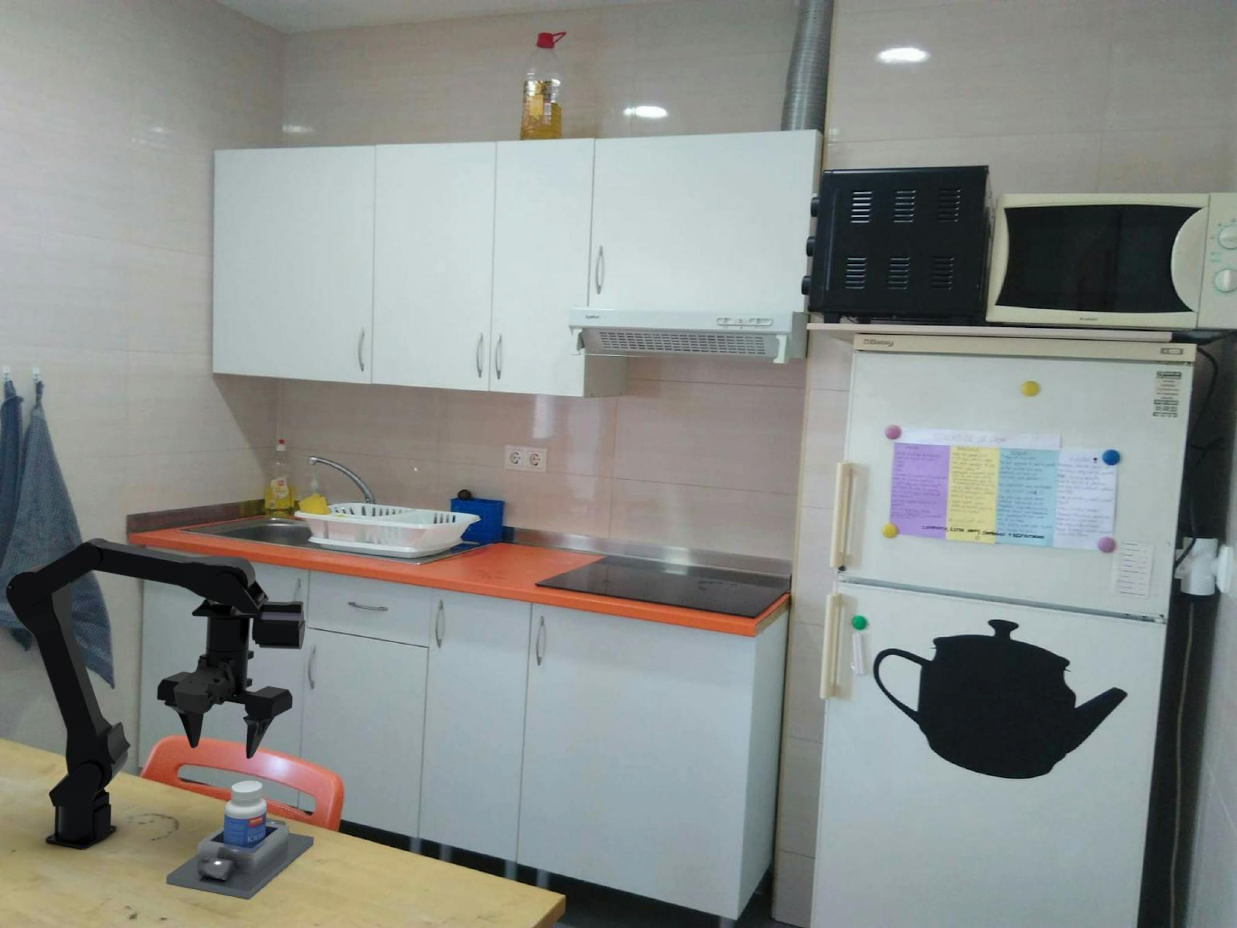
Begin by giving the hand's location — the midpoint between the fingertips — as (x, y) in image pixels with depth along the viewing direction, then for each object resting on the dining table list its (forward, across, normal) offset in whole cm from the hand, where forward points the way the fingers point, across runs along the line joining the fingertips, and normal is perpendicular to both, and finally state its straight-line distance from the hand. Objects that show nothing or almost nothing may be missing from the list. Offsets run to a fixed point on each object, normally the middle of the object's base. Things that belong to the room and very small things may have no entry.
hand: (221, 752), depth 139 cm
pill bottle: (+11, +8, -6) cm, 15 cm away
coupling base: (+12, +8, -6) cm, 16 cm away
